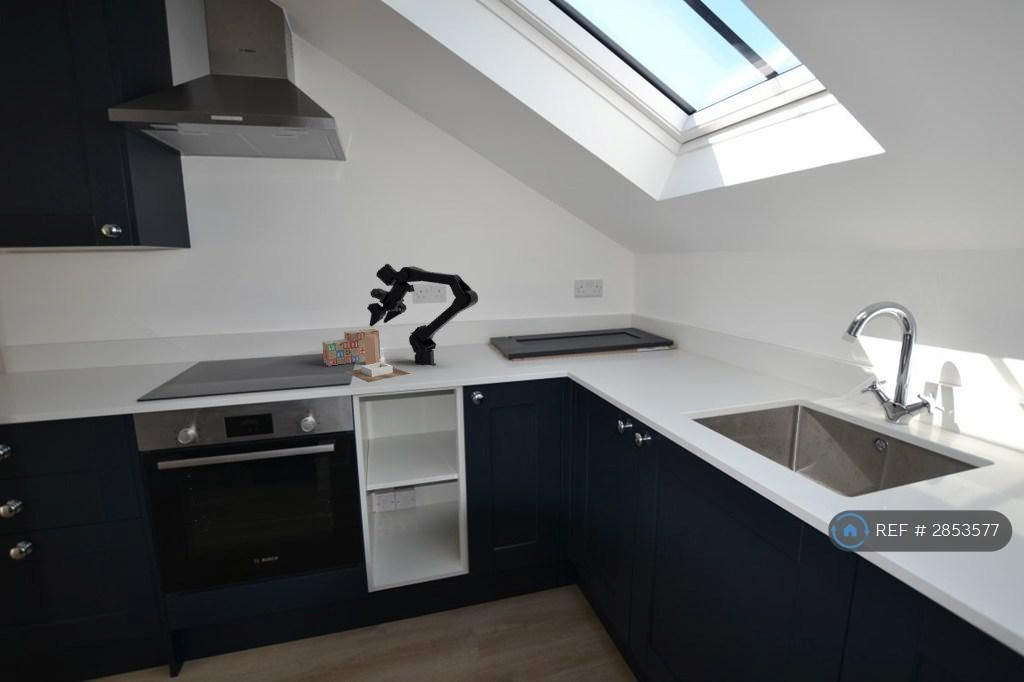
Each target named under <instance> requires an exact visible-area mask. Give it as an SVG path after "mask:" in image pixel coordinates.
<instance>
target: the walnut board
mask: <svg viewBox="0 0 1024 682" xmlns="http://www.w3.org/2000/svg"><path fill="white" fill-rule="evenodd" d="M392 367H393V366H392ZM345 373H346V374H347V375H350V376H353V377H355V378H358V379H360V380H362V381H365V382H367V383H371V382H377V381H382V380H385V379H390V378H395V377H400V376H405V375H406V376H407V375H409V374H411V373H410V372H408V371H405V370H401V369H399V368H397V367H393V373H389V374H384V375H379V376H373V377H371V376H369V375H366V374H364V373H362V368H359V369H352V370H348V371H345Z"/></svg>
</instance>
